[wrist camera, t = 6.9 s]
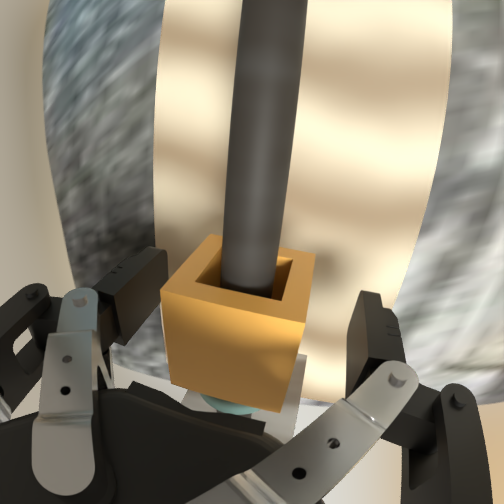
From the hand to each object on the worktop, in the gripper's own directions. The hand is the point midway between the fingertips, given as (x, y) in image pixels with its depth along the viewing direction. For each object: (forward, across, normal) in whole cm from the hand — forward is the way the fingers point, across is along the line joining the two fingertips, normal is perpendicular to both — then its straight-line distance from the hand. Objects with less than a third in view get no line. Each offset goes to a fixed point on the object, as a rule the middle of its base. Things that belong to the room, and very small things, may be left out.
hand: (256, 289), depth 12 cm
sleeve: (0, 0, 0) cm, 0 cm away
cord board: (+6, 0, -3) cm, 7 cm away
